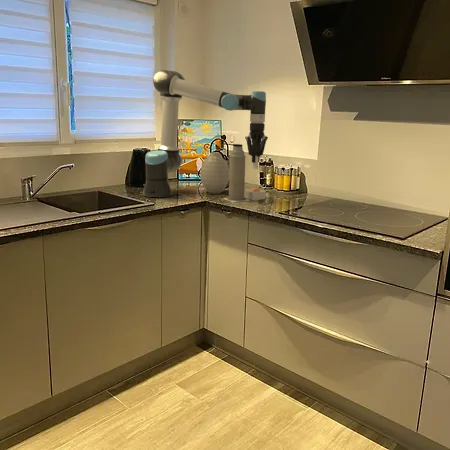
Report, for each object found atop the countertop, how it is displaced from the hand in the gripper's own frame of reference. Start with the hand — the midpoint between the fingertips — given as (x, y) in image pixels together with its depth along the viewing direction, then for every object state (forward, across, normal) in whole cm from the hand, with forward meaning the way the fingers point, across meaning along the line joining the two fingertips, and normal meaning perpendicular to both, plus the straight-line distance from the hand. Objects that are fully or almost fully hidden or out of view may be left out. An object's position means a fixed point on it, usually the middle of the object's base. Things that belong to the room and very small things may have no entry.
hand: (255, 168), depth 244 cm
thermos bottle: (+15, -11, 0) cm, 19 cm away
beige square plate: (+16, -10, 0) cm, 19 cm away
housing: (+16, 0, 0) cm, 16 cm away
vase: (+16, -10, +23) cm, 30 cm away
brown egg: (+15, 0, -1) cm, 15 cm away
